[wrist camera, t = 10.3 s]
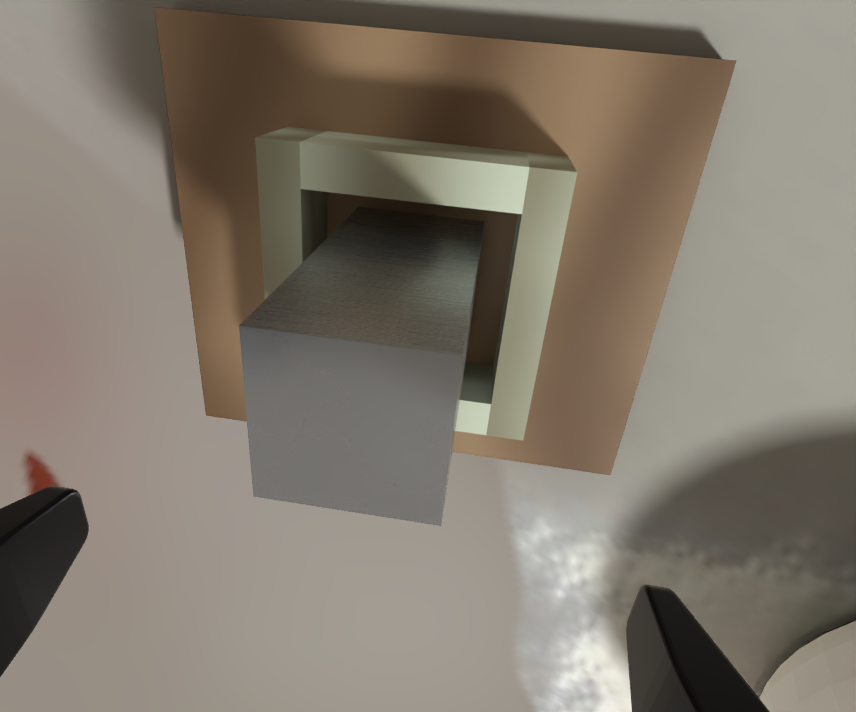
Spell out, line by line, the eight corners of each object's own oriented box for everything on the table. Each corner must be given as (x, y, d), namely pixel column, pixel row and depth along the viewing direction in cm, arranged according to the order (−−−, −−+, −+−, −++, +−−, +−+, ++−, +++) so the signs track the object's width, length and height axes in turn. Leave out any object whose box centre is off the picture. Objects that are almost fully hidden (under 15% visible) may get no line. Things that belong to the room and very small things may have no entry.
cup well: (724, 60, 16) (775, 61, 13) (606, 458, 22) (621, 522, 19) (172, 9, 17) (97, -1, 14) (217, 402, 24) (173, 453, 21)
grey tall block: (484, 221, 18) (462, 355, 10) (469, 335, 20) (441, 526, 12) (358, 206, 18) (238, 326, 10) (356, 320, 20) (253, 496, 12)
